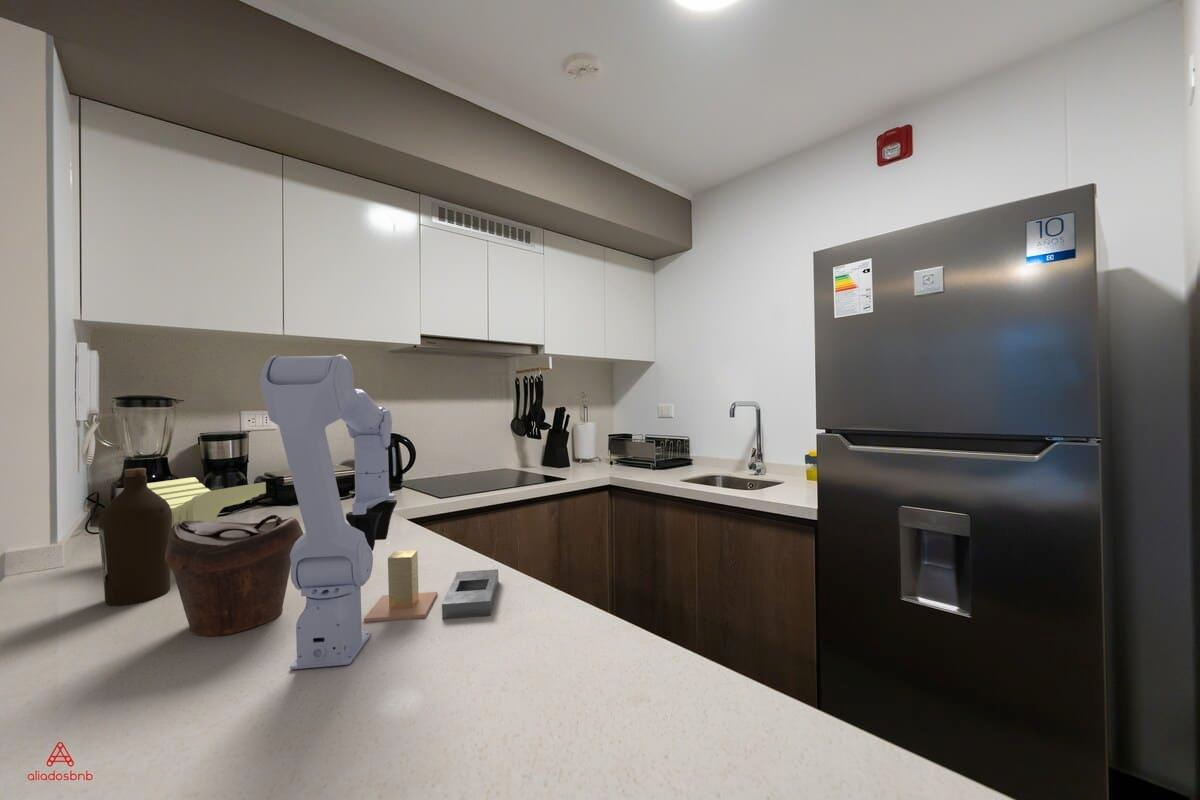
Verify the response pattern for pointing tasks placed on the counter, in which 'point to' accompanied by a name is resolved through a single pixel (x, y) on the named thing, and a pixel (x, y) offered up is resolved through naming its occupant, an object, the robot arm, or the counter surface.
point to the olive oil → (135, 542)
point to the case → (231, 571)
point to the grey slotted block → (471, 594)
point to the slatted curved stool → (201, 498)
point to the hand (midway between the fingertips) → (373, 545)
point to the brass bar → (403, 579)
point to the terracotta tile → (418, 611)
